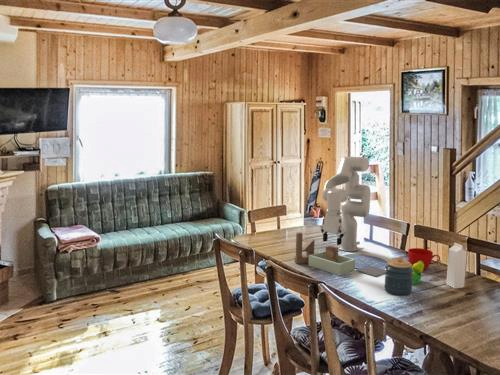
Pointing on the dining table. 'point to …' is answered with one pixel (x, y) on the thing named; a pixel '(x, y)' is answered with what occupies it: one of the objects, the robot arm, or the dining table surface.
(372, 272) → the felt pad
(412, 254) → the ceramic cup
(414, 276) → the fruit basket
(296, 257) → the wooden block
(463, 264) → the milk
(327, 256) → the walnut block
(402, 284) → the canister
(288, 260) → the dining table surface
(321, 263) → the box
